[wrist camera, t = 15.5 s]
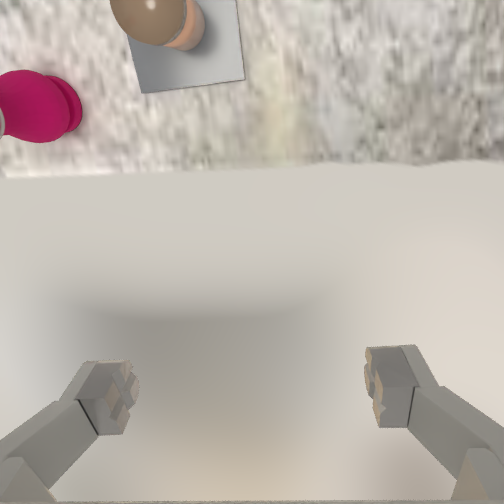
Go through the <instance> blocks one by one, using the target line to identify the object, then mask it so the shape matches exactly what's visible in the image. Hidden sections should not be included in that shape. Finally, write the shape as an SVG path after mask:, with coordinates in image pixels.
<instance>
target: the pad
mask: <svg viewBox="0 0 504 504" xmlns="http://www.w3.org/2000/svg"><path fill="white" fill-rule="evenodd" d="M196 2H197V3H198V4H199V6H200V7H201V9H202V12H203V15H204V20H205V30H204V34H203V37H202V39H201V41H200V42H199V44H198V45H197V46H196V47H194V48H193V49H190V50H187V51H181V50H176V49H173V48H169V47H166V46H163V45H162V46H154V45H149V44H146V43H142V42H139V41H137V40H135V39H133V38H132V37H130V36H129V35H128V34H127V37H128V41H129V45H130V49H131V53H132V57H133V61H134V65H135V69H136V73H137V77H138V81H139V85H140V89H141V93H149V92H156V91H163V90H171V89H178V88H185V87H192V86H200V85H207V84H214V83H222V82H229V81H236V80H243V79H245V76H244V67H243V58H242V50H241V41H240V32H239V24H238V15H237V6H236V0H196Z"/></svg>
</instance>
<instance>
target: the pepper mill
mask: <svg viewBox="0 0 504 504" xmlns="http://www.w3.org/2000/svg"><path fill="white" fill-rule="evenodd" d="M81 117H82V108H81V103H80V100H79V98H78V96H77V94H76V92H75V91H74V90H73V89H72V87H71V86H70V85H69V84H67V83H66V82H65V81H63V80H62V79H60V78H57V77H54V76H43V75H42V74H39V73H37V72H34V71H30V70H17V71H10V72H7V73H5V74H3V75H1V76H0V139H1V138H2V136H3V135H11V136H13V137H16V138H18V139H21V140H24V141H29V142H34V143H44V142H51V141H54V140H56V139H58V138H60V137H61V136H62V135H63V134H64V133H67V132H70V131H72V130H74V129H75V128H76V127H77V126H78V125H79V123H80V121H81Z"/></svg>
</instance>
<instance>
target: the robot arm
mask: <svg viewBox="0 0 504 504" xmlns="http://www.w3.org/2000/svg"><path fill="white" fill-rule="evenodd" d="M365 357H366V360H367V364H366V365H365V367H364V374H365V383H366V388H367V391H368V395H369V396H370V397H371V398H372V399H373V411H374V414H375V416H376V420H377V423H378V426H379V428H408V430H409V431H410V432H411V433H412V434H413V435H414V436H415V437H416V438H417V439H418V440H419V441H420V442H421V444H422V445H423V446H424V447H425V448H427V450H428V451H429V452H430V453H431V454H432V455H433V456H434V457H435V458H436V459H437V460H438V461H439V462H440V463H441V464H442V465H443V466H444V467H445V468H446V469H447V470H448V471H449V472H450V473H451V474H452V476H454V478H455V479H456V480H457V482H456V485H455V488H454V491H453V494H452V497H451V500H360V501H359V500H355V501H354V500H341V501H335V500H333V501H132V502H130V501H126V502H125V501H119V502H118V501H117V502H114V501H112V502H57V501H56V499H55V498H54V496H53V495H52V494H51V492H50V491H49V489H50V488H51V487H52V486H53V485H54V483H55V482H56V481H57V480H58V479H59V478H60V477H61V476H62V475H63V474H64V473H65V472H66V471H67V470H68V468H69V467H71V466H72V464H73V463H74V462H75V461H76V460H77V459H78V458H79V457H80V456H81V455H82V454H83V453H84V452H85V451H86V450H87V449H88V448H89V446H90V445H91V444H92V443H93V442H94V441H95V440H96V439H97V438H98V436H101V435H119V434H123V431H124V429H125V427H126V424H127V422H128V420H129V417H130V414H129V409H130V408H131V407H132V406H133V405H134V404H135V403H136V400H137V398H138V393H139V381H138V378H137V376H136V375H134V374H133V373H132V372H131V370H132V364H131V362H130V361H129V360H100V361H86V362H85V363H83V365H82V366H81V367H80V369H79V370H78V372H77V373H76V375H75V376H74V378H73V379H72V381H71V383H70V384H69V385H68V387H67V389H66V390H65V391H64V393H63V395H62V396H61V398H60V399H59V401H54V402H52V403H51V404H49V405H48V406H47V407H45V408H44V409H43V410H41V411H40V412H38V413H37V414H36V415H34V416H33V417H32V418H30V419H29V420H27V421H26V422H25V423H23V424H22V425H21V426H19V427H18V428H16V429H15V430H14V431H12V432H11V433H10V434H8V435H7V436H5V437H4V438H3V439H1V440H0V504H504V428H503V427H502V426H501V425H499V424H498V423H496V422H495V421H494V420H492V419H491V418H489V417H488V416H486V415H485V414H484V413H482V412H481V411H479V410H478V409H476V408H475V407H473V406H472V405H471V404H469V403H468V402H466V401H465V400H463V399H462V398H460V397H459V396H458V395H456V394H455V393H453V392H452V391H450V390H449V389H447V388H446V387H445V386H439V385H438V383H437V381H436V380H435V378H434V376H433V374H432V372H431V371H430V369H429V367H428V365H427V363H426V362H425V360H424V358H423V356H422V354H421V353H420V351H419V349H418V347H417V346H416V345H399V346H382V347H367V348H366V352H365Z"/></svg>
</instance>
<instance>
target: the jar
mask: <svg viewBox="0 0 504 504" xmlns="http://www.w3.org/2000/svg"><path fill="white" fill-rule="evenodd" d="M110 4H111V8H112V11H113V14H114V16H115V18H116V20H117V22H118V24H119V25H120V26H121V28H122V29H123V30H124V31H125V32H126V33H127V34H128V35H129V36H130V37H132V38H133V39H135V40H137V41H139V42H142V43H146V44H149V45H154V46H162V45H163V46H166V47H169V48H173V49H176V50H181V51H187V50H190V49H193V48H194V47H196V46H197V45H198V44H199V42H200V41H201V39H202V37H203V34H204V30H205V20H204V15H203V12H202V9H201V7H200V6H199V4H198V3H197V2H196V0H110Z"/></svg>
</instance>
